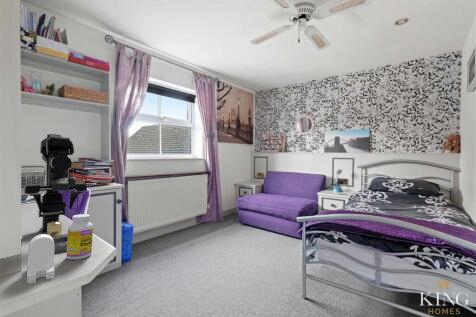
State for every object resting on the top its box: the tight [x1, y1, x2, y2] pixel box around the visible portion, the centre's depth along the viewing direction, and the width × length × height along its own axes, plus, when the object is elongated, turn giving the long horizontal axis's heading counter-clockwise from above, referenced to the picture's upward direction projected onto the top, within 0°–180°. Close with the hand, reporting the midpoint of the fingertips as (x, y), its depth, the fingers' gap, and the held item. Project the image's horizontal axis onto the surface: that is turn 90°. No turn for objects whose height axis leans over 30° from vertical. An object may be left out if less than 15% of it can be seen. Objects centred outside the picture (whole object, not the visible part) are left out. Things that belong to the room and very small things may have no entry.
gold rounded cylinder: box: [46, 221, 63, 236], centre depth 91 cm, size 4×4×6 cm
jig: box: [51, 233, 68, 254], centre depth 84 cm, size 14×9×2 cm, turn 46°
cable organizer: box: [26, 233, 55, 285], centre depth 63 cm, size 5×10×10 cm, turn 41°
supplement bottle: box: [66, 213, 94, 261], centre depth 75 cm, size 7×7×13 cm
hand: (55, 210), depth 91 cm, fingers open, 9 cm apart
